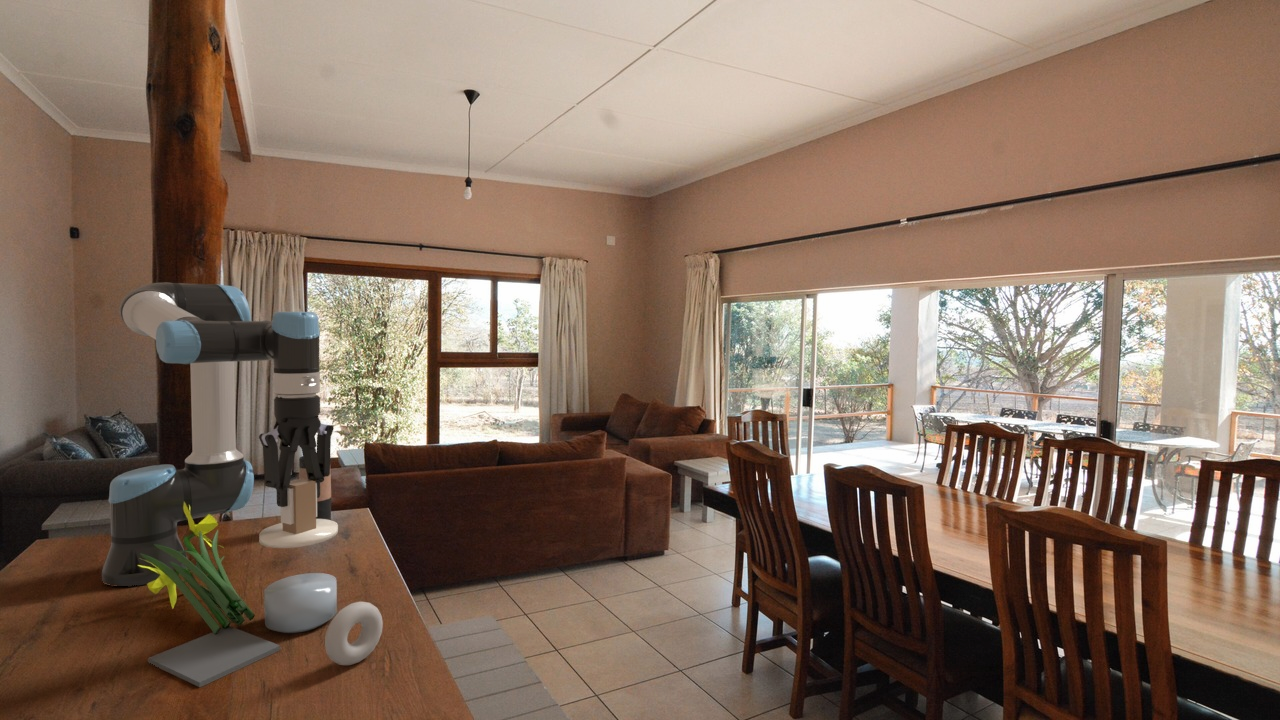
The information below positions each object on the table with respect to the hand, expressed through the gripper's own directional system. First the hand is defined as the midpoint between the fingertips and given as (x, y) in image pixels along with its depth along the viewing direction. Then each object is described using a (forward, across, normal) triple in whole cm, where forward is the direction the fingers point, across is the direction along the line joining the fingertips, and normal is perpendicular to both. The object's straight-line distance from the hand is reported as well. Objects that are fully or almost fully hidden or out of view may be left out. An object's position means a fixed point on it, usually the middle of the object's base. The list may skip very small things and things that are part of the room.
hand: (299, 519), depth 121 cm
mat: (+20, -15, +1) cm, 25 cm away
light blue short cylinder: (+20, 0, 0) cm, 20 cm away
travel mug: (+20, +36, +46) cm, 61 cm away
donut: (+20, -5, -21) cm, 29 cm away
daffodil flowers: (+20, -5, +20) cm, 29 cm away
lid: (+3, 0, 0) cm, 3 cm away
